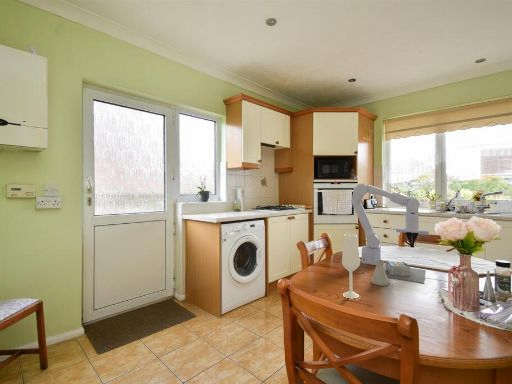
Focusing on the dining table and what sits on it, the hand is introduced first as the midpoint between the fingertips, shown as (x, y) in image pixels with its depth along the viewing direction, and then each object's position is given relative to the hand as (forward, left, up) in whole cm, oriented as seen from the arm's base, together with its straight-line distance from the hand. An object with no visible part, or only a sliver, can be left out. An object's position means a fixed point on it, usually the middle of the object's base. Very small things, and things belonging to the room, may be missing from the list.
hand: (412, 247), depth 135 cm
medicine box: (-1, -13, -8) cm, 15 cm away
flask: (-10, -32, -11) cm, 35 cm away
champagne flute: (-17, -52, -11) cm, 56 cm away
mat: (-3, -13, -10) cm, 17 cm away
